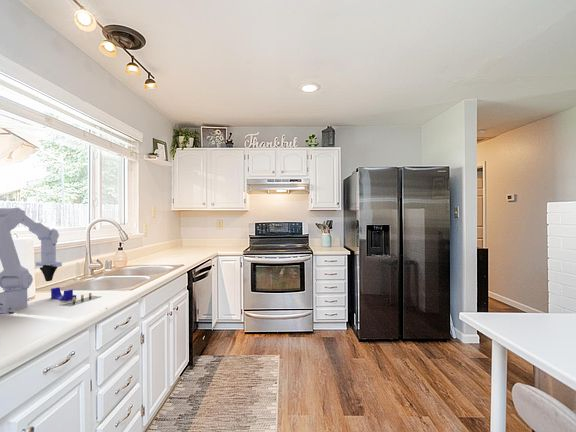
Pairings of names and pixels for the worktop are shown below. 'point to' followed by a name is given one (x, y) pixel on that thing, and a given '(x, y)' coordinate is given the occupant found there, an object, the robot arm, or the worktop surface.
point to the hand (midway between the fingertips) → (48, 280)
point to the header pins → (82, 297)
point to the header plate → (80, 301)
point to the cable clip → (57, 294)
